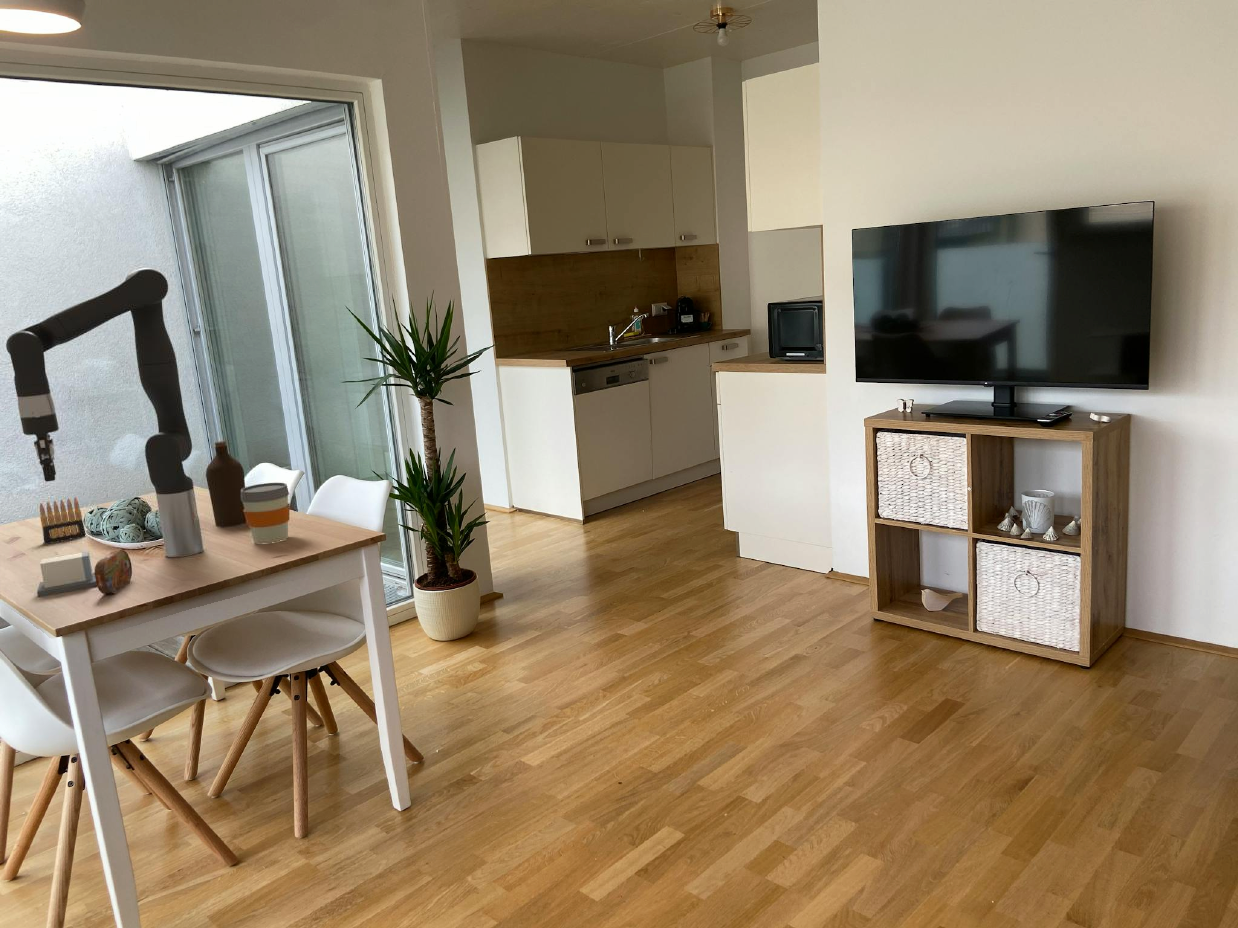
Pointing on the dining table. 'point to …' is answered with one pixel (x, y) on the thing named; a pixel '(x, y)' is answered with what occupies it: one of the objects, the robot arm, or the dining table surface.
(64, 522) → the ammunition clip
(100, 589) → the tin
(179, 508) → the robot arm
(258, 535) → the reusable coffee cup
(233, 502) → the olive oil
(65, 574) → the box
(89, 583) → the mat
